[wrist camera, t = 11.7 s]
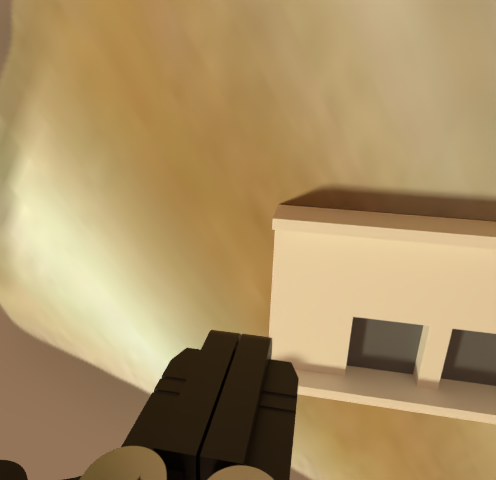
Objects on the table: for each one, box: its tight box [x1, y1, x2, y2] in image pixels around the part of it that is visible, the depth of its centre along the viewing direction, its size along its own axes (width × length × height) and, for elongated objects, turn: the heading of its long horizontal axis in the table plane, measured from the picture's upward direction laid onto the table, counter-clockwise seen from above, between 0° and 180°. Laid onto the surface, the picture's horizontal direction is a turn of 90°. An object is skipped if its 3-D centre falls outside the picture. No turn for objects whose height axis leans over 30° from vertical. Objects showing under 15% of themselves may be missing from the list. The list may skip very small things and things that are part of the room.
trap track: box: [269, 204, 496, 424], centre depth 37 cm, size 18×32×4 cm, turn 88°
